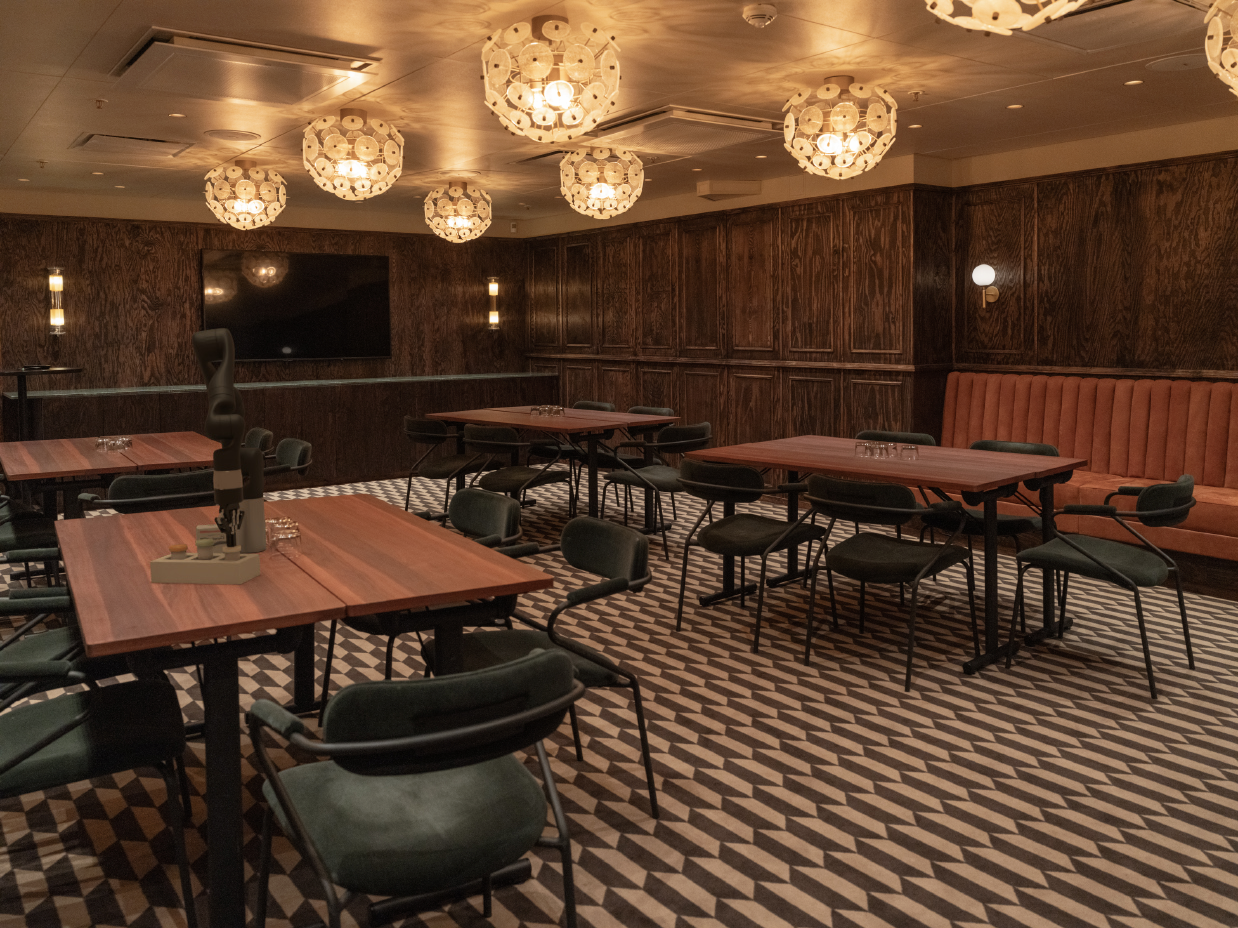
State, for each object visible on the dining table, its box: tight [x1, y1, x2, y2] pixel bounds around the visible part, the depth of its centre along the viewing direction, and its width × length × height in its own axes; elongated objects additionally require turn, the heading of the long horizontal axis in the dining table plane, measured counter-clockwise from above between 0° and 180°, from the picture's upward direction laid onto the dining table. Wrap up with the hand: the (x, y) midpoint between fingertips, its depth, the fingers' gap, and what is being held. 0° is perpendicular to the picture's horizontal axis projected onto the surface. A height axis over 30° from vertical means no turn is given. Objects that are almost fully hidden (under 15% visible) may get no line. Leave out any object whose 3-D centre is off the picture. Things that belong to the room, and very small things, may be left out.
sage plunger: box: [195, 539, 214, 560], centre depth 278 cm, size 5×5×8 cm
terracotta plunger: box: [168, 543, 189, 560], centre depth 279 cm, size 5×5×8 cm
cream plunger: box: [223, 545, 241, 561], centre depth 277 cm, size 5×5×8 cm
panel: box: [149, 552, 261, 586], centre depth 278 cm, size 12×26×6 cm, turn 84°
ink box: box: [195, 523, 227, 553], centre depth 297 cm, size 9×5×12 cm, turn 114°
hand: (231, 546), depth 277 cm, fingers closed
